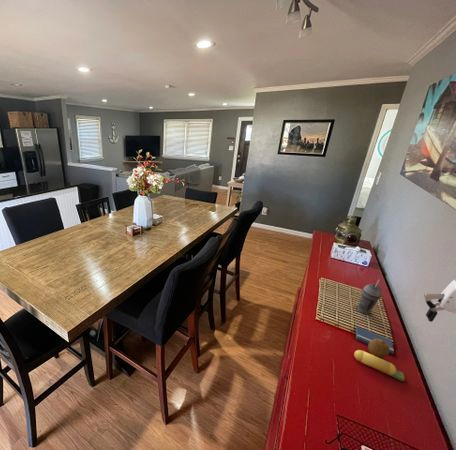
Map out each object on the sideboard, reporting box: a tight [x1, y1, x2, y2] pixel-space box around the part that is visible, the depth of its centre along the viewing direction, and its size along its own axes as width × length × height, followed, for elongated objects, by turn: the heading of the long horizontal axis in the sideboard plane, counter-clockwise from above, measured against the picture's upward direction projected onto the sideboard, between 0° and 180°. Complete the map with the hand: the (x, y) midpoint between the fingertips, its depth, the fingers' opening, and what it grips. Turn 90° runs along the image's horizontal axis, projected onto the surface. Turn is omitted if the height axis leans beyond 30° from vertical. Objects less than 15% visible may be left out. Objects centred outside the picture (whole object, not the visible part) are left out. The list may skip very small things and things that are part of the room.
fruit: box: [367, 339, 390, 359], centre depth 96 cm, size 6×6×8 cm
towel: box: [355, 326, 395, 356], centre depth 104 cm, size 12×8×2 cm, turn 52°
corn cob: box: [353, 349, 405, 382], centre depth 92 cm, size 15×4×4 cm, turn 52°
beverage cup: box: [357, 278, 383, 315], centre depth 117 cm, size 7×7×20 cm
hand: (450, 326), depth 78 cm, fingers open, 9 cm apart
